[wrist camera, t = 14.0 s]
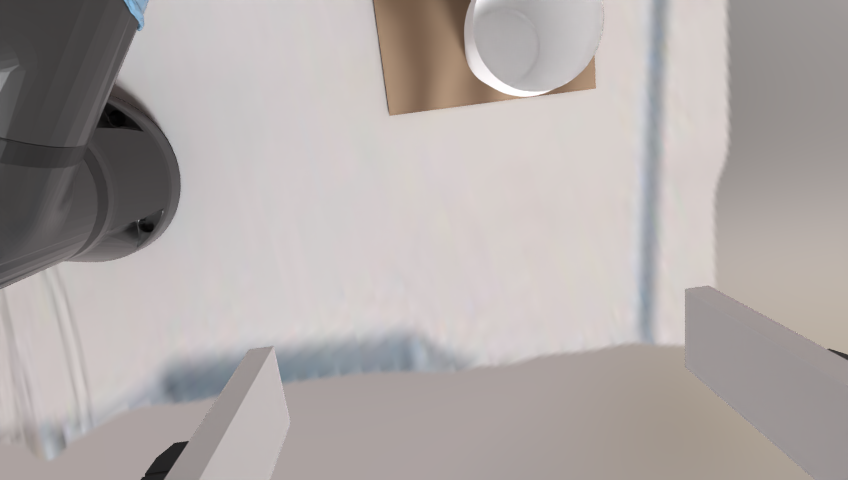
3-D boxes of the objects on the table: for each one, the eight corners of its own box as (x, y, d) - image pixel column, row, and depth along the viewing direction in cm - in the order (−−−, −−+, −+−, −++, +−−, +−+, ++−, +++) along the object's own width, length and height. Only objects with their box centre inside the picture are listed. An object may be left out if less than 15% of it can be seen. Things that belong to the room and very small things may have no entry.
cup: (530, -25, 42) (579, -79, 31) (565, 75, 45) (624, 60, 33) (435, 20, 43) (448, -17, 31) (474, 117, 45) (500, 117, 34)
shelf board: (389, 115, 45) (389, 115, 42) (371, -17, 43) (368, -29, 39) (593, 88, 46) (609, 86, 42) (587, -45, 43) (604, -59, 39)
